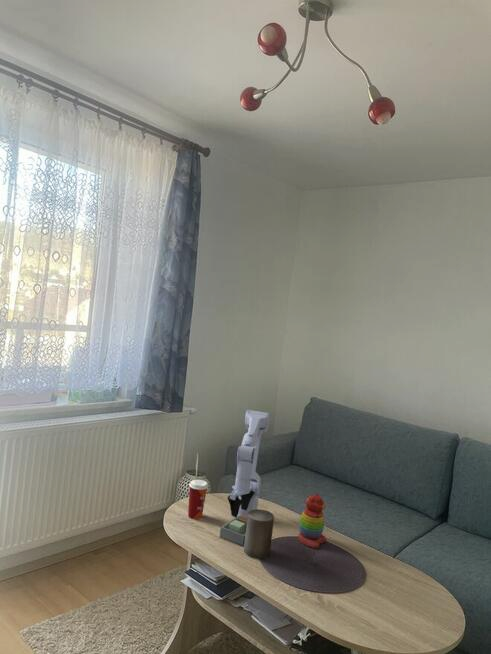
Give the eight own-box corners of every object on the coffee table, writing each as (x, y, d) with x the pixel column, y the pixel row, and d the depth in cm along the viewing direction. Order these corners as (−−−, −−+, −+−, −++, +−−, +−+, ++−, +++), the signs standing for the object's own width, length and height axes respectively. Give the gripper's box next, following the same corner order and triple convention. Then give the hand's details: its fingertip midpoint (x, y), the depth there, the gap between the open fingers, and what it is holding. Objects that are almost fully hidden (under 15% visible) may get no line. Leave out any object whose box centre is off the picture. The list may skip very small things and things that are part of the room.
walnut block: (240, 526, 190) (241, 514, 190) (250, 530, 188) (251, 518, 188) (234, 530, 186) (236, 518, 186) (244, 534, 184) (246, 521, 184)
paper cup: (203, 521, 192) (207, 487, 192) (184, 519, 193) (188, 484, 192) (205, 513, 200) (209, 480, 200) (187, 510, 200) (190, 477, 200)
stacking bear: (316, 550, 180) (322, 504, 180) (292, 540, 186) (298, 495, 185) (328, 540, 189) (333, 496, 188) (305, 531, 195) (310, 488, 194)
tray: (237, 525, 193) (238, 515, 193) (259, 533, 188) (260, 523, 188) (219, 537, 181) (220, 527, 181) (242, 546, 176) (243, 536, 176)
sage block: (233, 532, 185) (235, 519, 185) (243, 536, 183) (245, 523, 183) (227, 536, 181) (229, 523, 181) (238, 540, 179) (239, 527, 179)
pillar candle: (275, 555, 173) (280, 514, 173) (254, 561, 167) (259, 519, 167) (258, 543, 181) (262, 503, 180) (237, 548, 175) (242, 508, 174)
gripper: (243, 469, 189) (239, 503, 190) (224, 479, 176) (220, 515, 177) (259, 474, 186) (255, 509, 187) (241, 484, 173) (236, 521, 174)
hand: (239, 512), depth 182 cm, fingers open, 7 cm apart
